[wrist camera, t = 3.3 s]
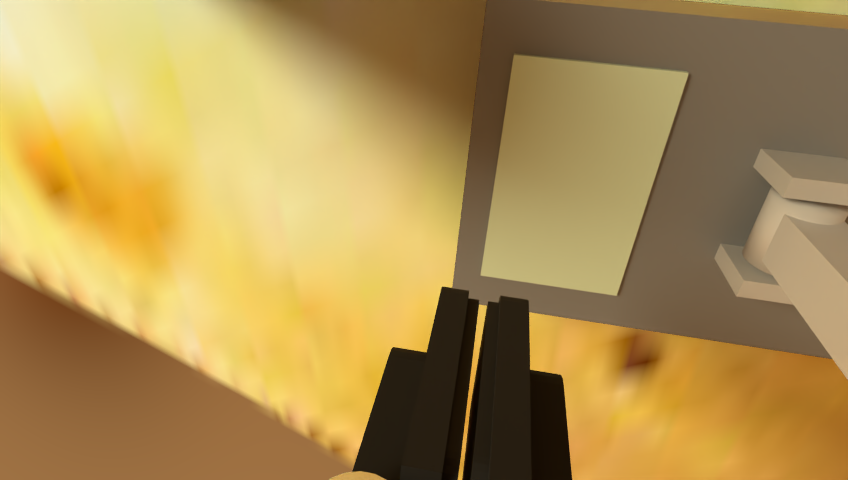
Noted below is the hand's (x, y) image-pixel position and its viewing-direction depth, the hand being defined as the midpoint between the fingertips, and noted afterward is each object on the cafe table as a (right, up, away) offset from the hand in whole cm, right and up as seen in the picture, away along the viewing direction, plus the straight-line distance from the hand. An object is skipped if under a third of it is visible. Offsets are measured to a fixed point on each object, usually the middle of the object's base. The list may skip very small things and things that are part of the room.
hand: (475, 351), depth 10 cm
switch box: (+11, +5, +10) cm, 16 cm away
